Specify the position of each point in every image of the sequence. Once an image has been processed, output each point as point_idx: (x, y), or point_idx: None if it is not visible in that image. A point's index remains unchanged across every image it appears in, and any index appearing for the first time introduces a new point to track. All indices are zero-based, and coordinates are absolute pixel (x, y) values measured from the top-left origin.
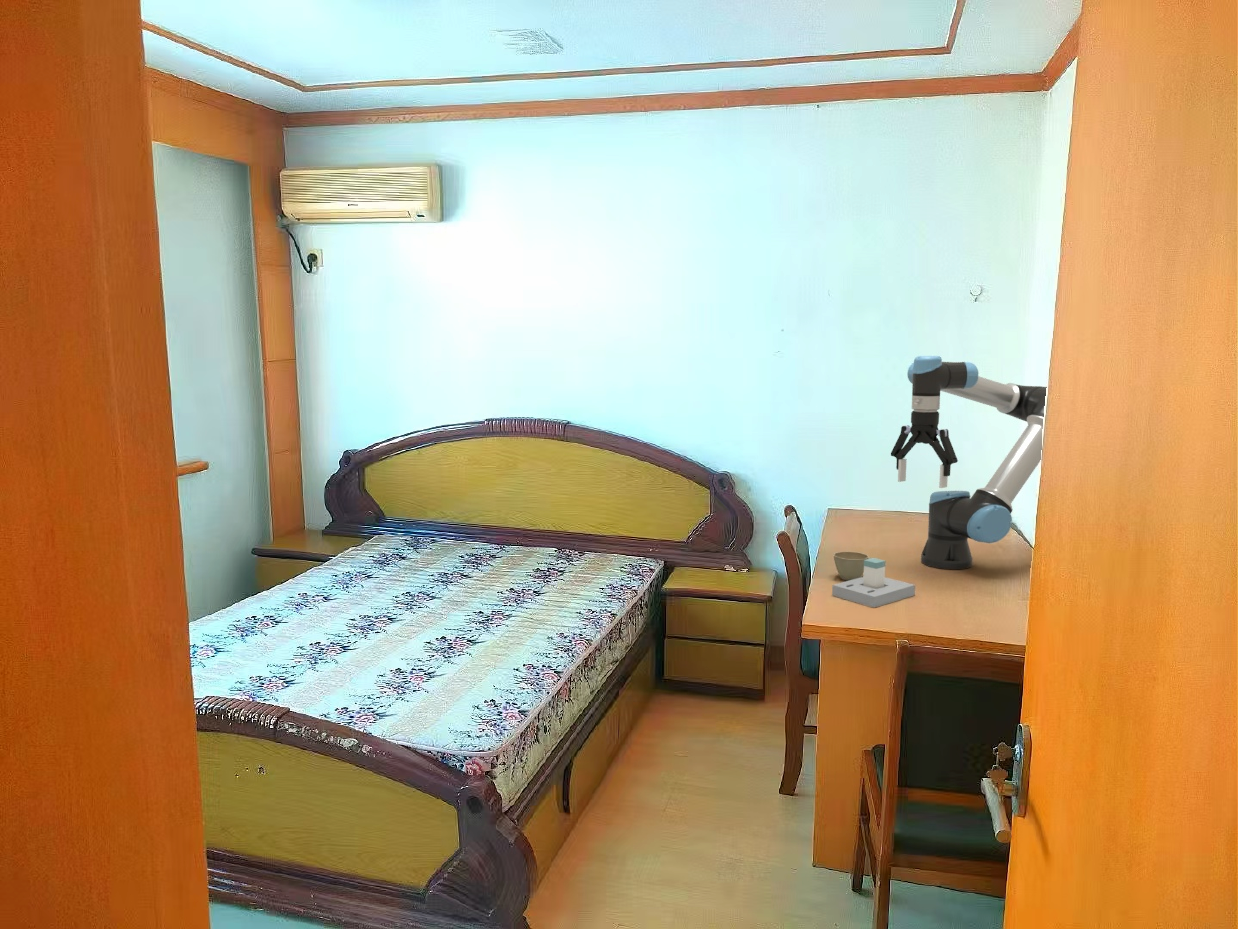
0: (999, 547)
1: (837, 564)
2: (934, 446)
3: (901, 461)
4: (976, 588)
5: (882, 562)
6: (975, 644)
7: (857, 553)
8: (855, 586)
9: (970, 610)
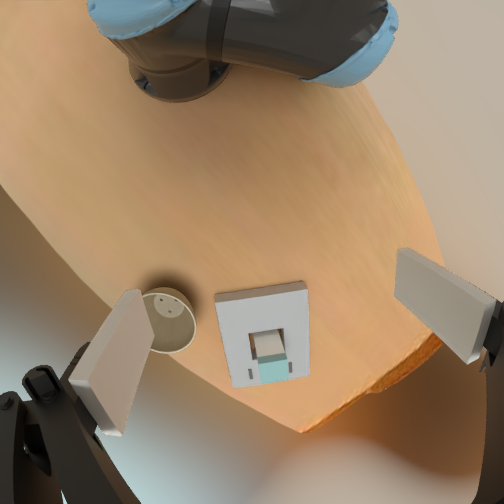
0: None
1: (163, 342)
2: (499, 477)
3: (121, 419)
4: (335, 152)
5: (287, 365)
6: (432, 343)
7: (144, 296)
8: (257, 369)
9: (392, 264)
